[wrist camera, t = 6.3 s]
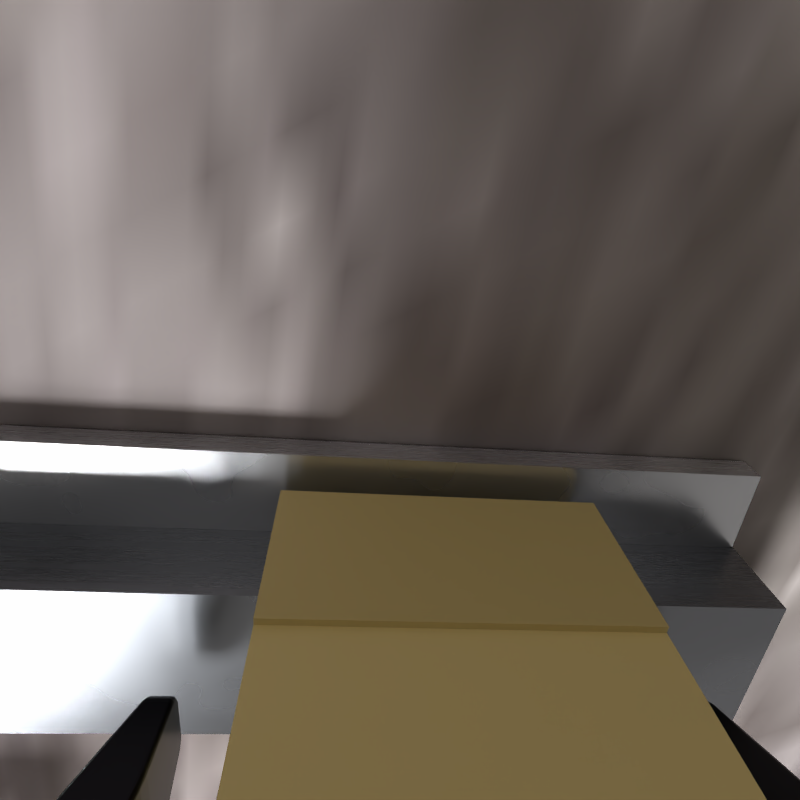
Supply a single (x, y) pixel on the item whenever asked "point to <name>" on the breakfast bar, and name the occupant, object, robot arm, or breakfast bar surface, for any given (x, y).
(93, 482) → the rail
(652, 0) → the breakfast bar surface
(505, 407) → the breakfast bar surface
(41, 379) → the breakfast bar surface
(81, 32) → the breakfast bar surface
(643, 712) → the carriage
